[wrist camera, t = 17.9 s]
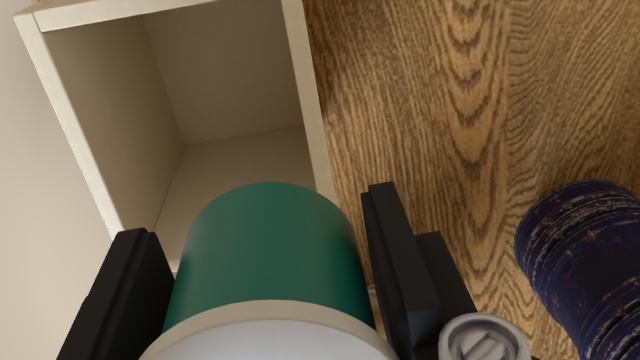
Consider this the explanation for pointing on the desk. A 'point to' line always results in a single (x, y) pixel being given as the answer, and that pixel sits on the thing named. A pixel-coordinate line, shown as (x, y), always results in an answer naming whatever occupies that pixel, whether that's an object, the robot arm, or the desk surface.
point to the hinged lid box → (179, 103)
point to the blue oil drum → (587, 265)
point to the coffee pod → (270, 283)
